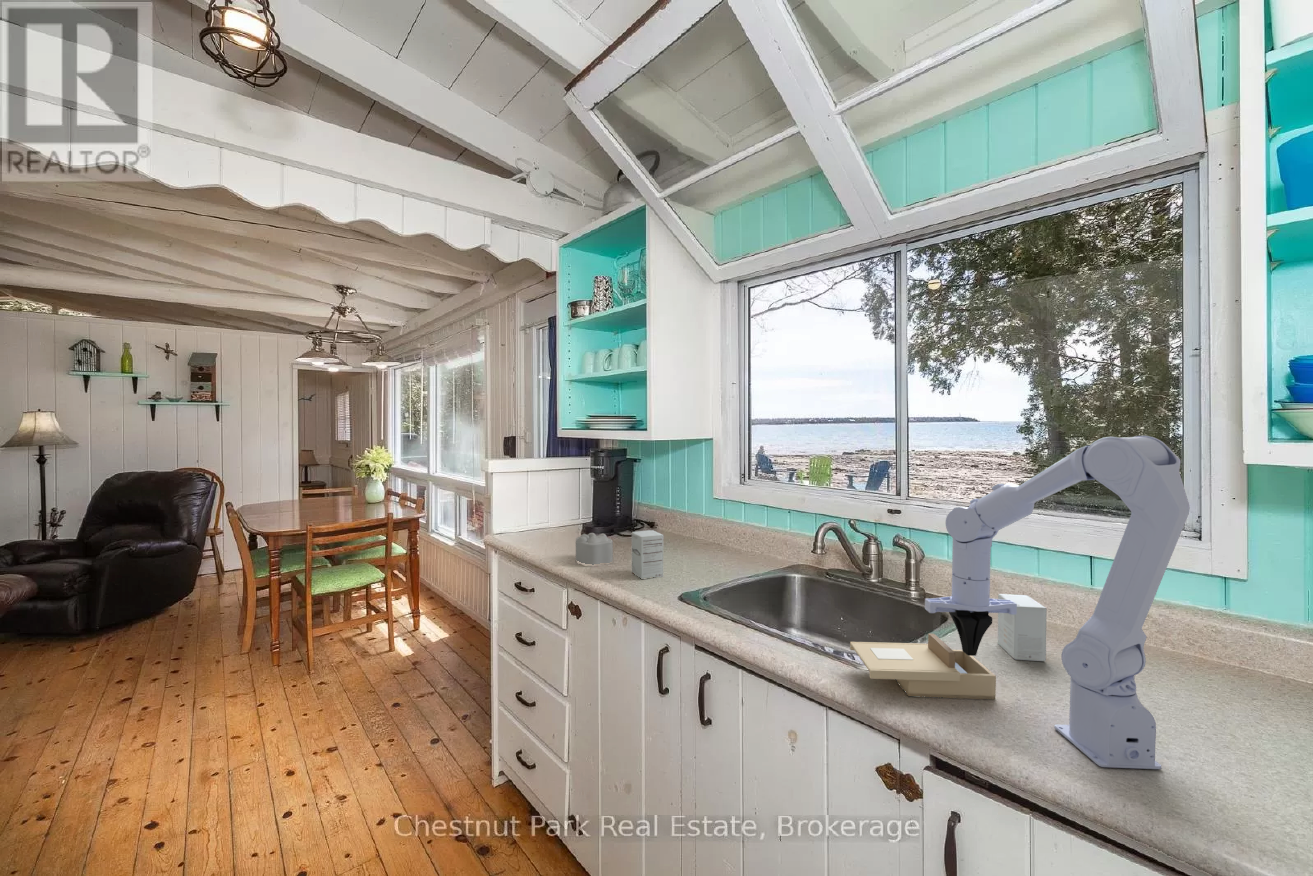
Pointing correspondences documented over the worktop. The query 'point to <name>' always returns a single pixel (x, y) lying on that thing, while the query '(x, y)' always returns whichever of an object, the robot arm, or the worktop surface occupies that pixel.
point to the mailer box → (957, 682)
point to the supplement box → (647, 554)
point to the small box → (1023, 629)
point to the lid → (908, 660)
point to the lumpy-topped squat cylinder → (594, 549)
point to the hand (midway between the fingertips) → (969, 653)
